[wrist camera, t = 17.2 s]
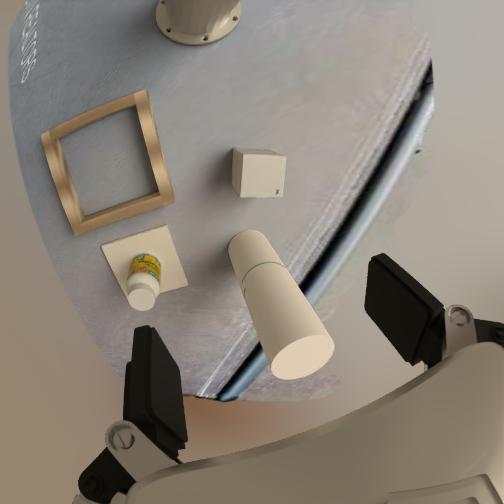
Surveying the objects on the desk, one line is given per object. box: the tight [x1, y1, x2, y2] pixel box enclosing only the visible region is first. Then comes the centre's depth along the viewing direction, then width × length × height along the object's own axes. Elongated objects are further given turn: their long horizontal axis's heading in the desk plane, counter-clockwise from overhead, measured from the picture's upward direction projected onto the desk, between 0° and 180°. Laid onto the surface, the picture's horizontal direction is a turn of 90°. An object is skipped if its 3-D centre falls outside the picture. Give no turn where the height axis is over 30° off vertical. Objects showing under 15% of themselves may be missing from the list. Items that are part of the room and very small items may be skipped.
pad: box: [101, 224, 188, 300], centre depth 44 cm, size 12×12×1 cm
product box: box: [232, 148, 286, 198], centre depth 38 cm, size 6×6×7 cm
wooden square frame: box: [41, 90, 175, 236], centre depth 34 cm, size 17×17×3 cm
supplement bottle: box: [126, 253, 161, 311], centre depth 40 cm, size 5×5×10 cm
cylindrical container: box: [228, 230, 334, 380], centre depth 37 cm, size 7×7×25 cm
